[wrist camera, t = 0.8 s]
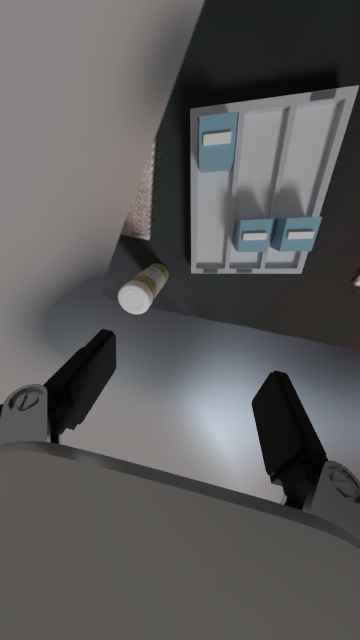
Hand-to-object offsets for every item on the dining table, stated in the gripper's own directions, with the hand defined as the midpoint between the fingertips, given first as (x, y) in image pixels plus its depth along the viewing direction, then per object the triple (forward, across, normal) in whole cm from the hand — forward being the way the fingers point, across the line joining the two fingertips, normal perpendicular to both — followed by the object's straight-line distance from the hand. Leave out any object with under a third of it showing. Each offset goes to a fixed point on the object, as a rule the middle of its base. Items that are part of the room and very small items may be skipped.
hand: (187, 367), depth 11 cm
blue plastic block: (+24, -11, -8) cm, 28 cm away
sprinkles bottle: (+27, +8, +4) cm, 28 cm away
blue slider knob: (+24, -6, -7) cm, 26 cm away
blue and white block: (+24, +2, -15) cm, 29 cm away
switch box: (+26, -5, -11) cm, 29 cm away
